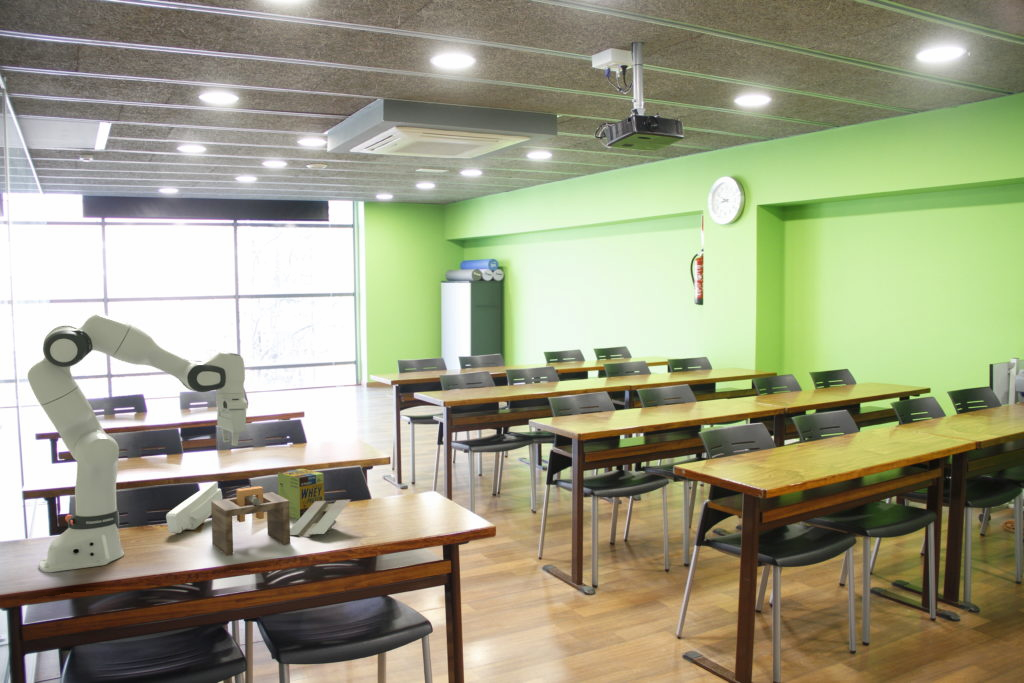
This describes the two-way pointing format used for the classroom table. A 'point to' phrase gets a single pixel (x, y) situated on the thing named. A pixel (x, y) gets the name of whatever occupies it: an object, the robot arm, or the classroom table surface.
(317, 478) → the protein box
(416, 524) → the classroom table surface
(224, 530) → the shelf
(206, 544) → the classroom table surface
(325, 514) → the slanted grey stand
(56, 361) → the robot arm
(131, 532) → the classroom table surface
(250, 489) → the orange u-frame
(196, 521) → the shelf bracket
